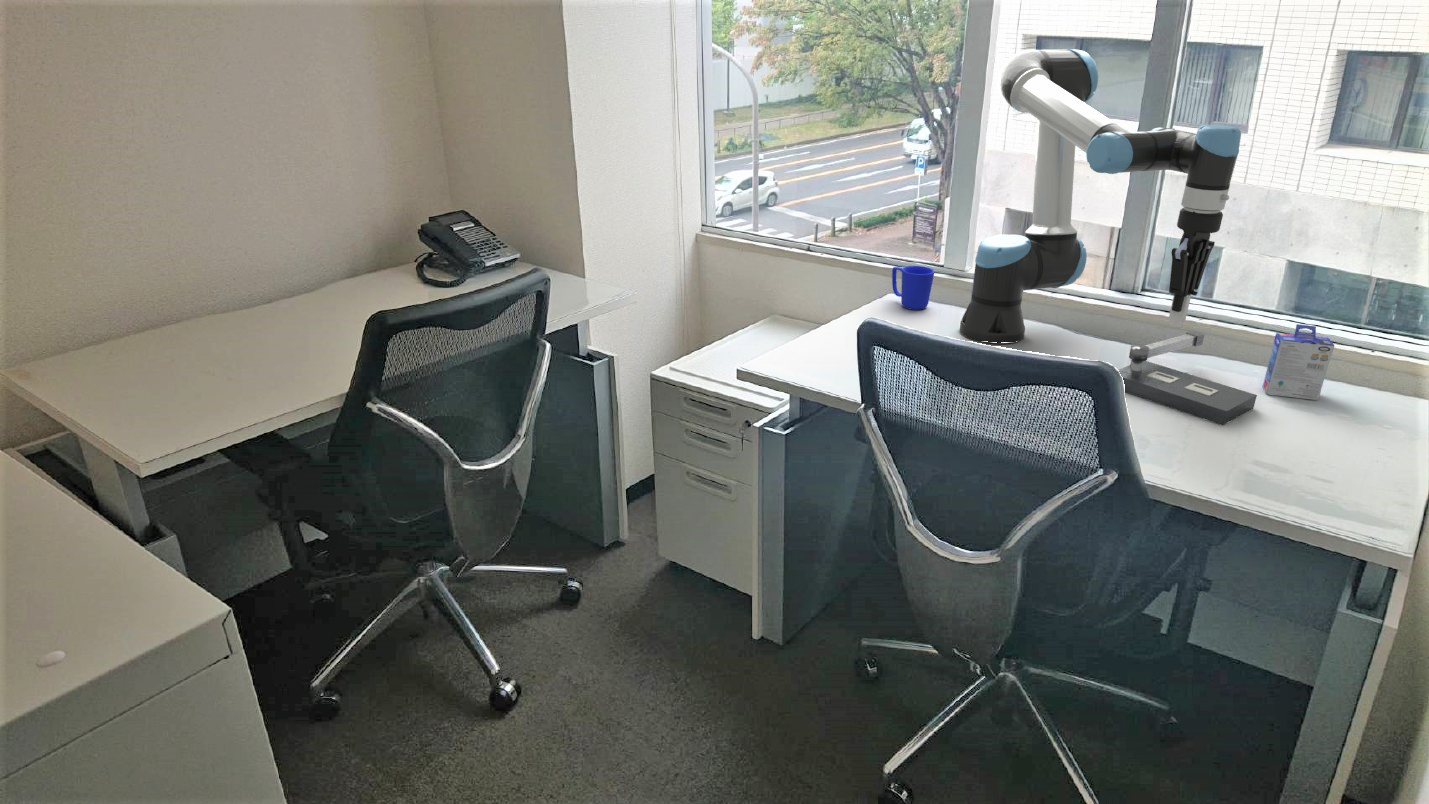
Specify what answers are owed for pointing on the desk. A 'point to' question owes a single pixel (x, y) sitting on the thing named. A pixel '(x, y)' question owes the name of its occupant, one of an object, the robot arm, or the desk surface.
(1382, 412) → the desk surface
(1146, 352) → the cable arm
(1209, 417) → the slab
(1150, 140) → the robot arm
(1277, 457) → the desk surface
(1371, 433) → the desk surface
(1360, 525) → the desk surface
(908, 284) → the mug
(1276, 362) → the ink cartridge box
